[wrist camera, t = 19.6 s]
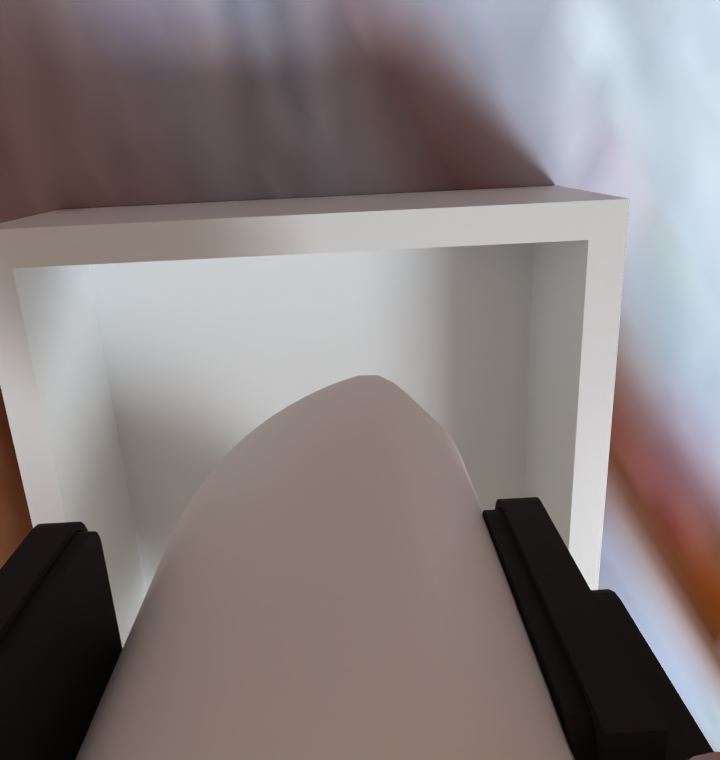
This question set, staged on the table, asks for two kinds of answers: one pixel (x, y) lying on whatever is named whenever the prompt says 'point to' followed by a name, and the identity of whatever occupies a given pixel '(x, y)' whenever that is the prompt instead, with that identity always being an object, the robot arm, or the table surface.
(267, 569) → the eye dropper bottle
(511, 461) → the box
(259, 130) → the table surface
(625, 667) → the robot arm
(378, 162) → the table surface
